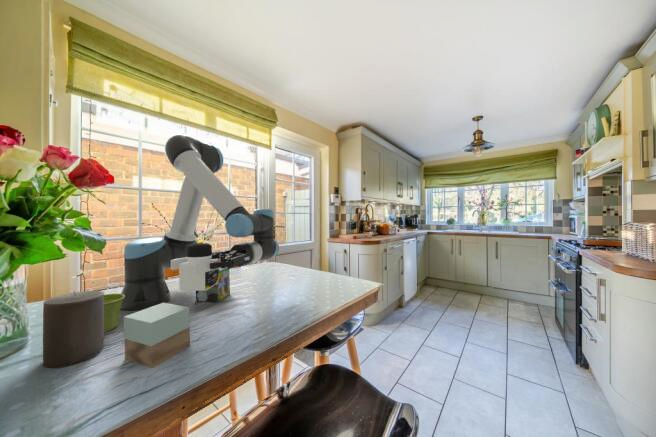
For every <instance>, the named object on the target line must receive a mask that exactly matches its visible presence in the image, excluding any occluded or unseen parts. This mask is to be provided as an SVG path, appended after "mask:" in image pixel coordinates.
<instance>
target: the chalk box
mask: <svg viewBox="0 0 656 437" xmlns="http://www.w3.org/2000/svg"><path fill="white" fill-rule="evenodd" d="M230 281H231V280H230V269H229V268H227V267H226V268H223V269H222V268H221V267H220V269H218V283H217V284H216V285H214V286H212V287H211V288H209V289H208V290H206V291H195V302H203V303H204V302H206V303H219V302H220V301H221V300H224V298H226V297H228V296H229V295H231V287H230V285H231V284H230Z"/></svg>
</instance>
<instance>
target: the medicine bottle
mask: <svg viewBox="0 0 656 437" xmlns="http://www.w3.org/2000/svg"><path fill="white" fill-rule="evenodd" d="M212 247H213V245H212V244H210V243H207V242H206V243H205V242H200V243H199V242H198V243H197V244H191V245H189V246H188V247H187V260H188V261H187V262H184V263H181V264H180V265H179V269H178V271H179V272H178V273H179V276H178V278H179V280H178V281H179V285H178V286H179V291H183V292H184V291H187V292H188V291H193V292H194V291H195V292H196V291H206V290H208V289H209V288H211V287H212V286H214V285H216V284H217V283H218V269H216V270H212V271H209V272H205V273H201V274H196V263H199V262H204V261H209V260H214V259H211V258H212V252H213V248H212Z"/></svg>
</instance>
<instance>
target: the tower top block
mask: <svg viewBox="0 0 656 437" xmlns="http://www.w3.org/2000/svg"><path fill="white" fill-rule="evenodd" d="M189 327H190V307H189V306H185V305H178V304H174V303H169V302H167V303H166V302H164V303H161V304H158V305H155V306H152V307H149V308H144V309H140V310H138V311H136V312H134V313H131V314H128V315H125V316H123V339H124V340H125V339H127V340H131V341H134V342H138V343H141V344H145V345H149V346H153V345H155V344H157V343H159V342H161V341H163V340H165V339H167V338H169V337H171V336H173V335H175V334H177V333H179V332H181V331H183V330H185V329H187V328H189Z"/></svg>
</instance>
